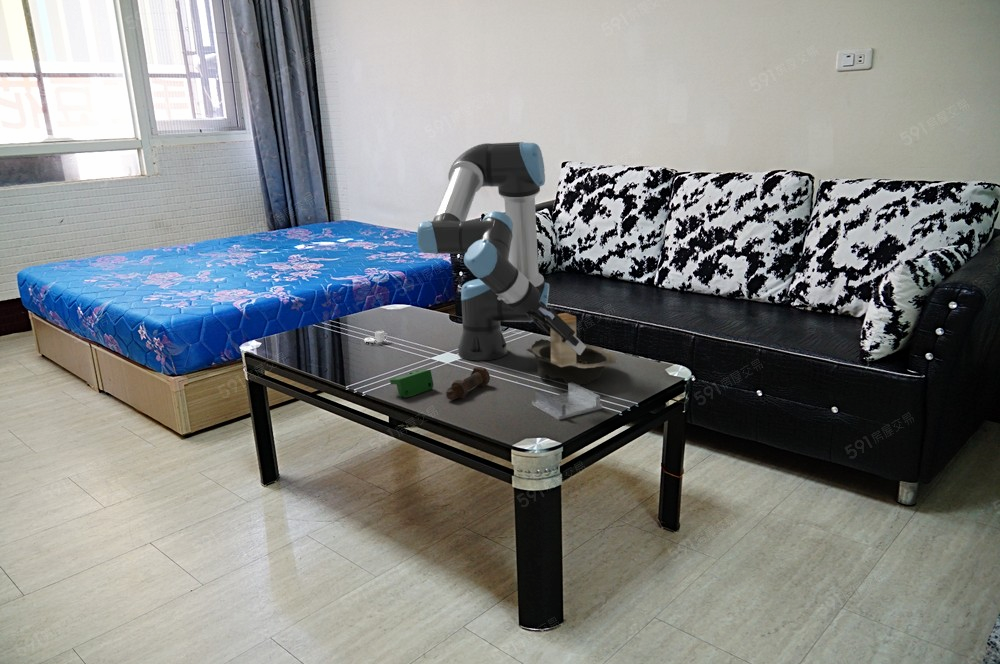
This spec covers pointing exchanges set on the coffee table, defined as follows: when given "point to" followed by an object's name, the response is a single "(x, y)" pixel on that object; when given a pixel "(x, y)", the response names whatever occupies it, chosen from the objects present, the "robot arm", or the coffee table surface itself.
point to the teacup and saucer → (377, 337)
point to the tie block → (563, 344)
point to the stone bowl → (579, 373)
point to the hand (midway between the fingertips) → (576, 347)
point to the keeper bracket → (568, 402)
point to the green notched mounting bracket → (413, 383)
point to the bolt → (468, 383)
